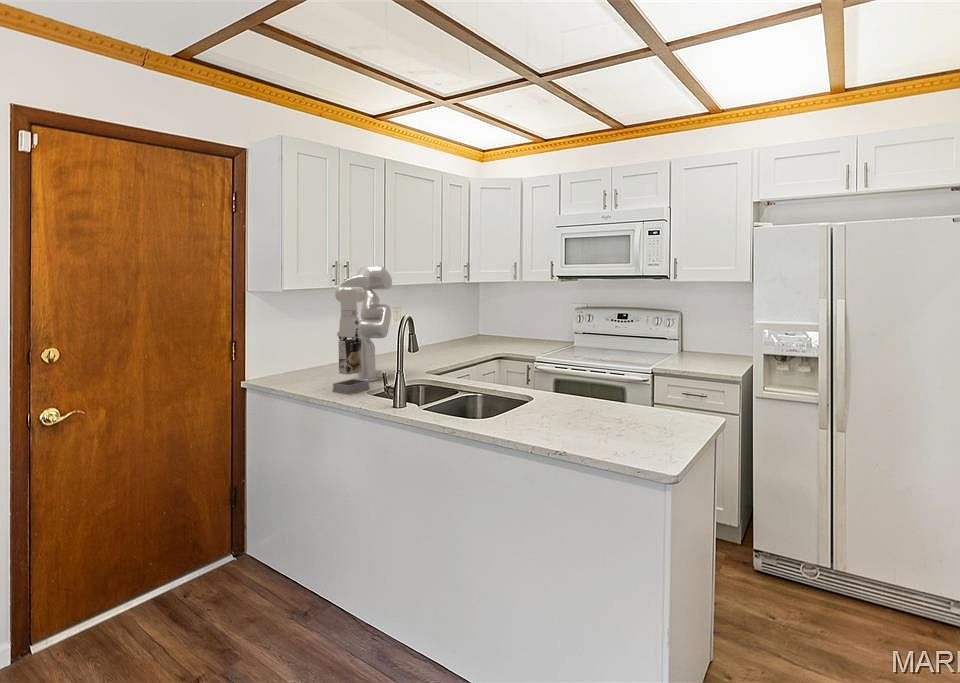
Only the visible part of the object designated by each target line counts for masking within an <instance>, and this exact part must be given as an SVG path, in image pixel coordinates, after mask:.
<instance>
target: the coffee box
mask: <svg viewBox="0 0 960 683" xmlns="http://www.w3.org/2000/svg"><path fill="white" fill-rule="evenodd" d="M355 340H356V339H355ZM353 344H354V343H353V340H352V338H347V340H340V339H338V374H341V375H346V376H348V375H354V374H357V373H360V372H362V362H361V340H360V342H359V343H358V349H359V351H358V352H353Z"/></svg>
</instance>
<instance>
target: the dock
mask: <svg viewBox="0 0 960 683" xmlns="http://www.w3.org/2000/svg"><path fill="white" fill-rule="evenodd" d="M332 388H333V389H332V392H333V393H337V392H338V394H343V393H345V395H352V393H353V394H356V392H357V393H360V392H363V391H368V390H370V388H371V387H370V381H364V380H357V379H354V378H351V379H348V380H346V379H345V380H342V381H339V382H334V383H332Z"/></svg>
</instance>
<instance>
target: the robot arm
mask: <svg viewBox="0 0 960 683" xmlns="http://www.w3.org/2000/svg"><path fill="white" fill-rule="evenodd" d="M392 285H393V279H392V276H391V274H390V272H388V270H387V268H385V267H384V266H381V265H366V266H362V267H360V268H359V270H358V272H357V273H356V274H355V276H353V277H349V278H348V279H345V280H343V281H341V282H340V283H339V284H338V286H337V287H336V290H335V292H334V293H335V294H334V296H335V299H336V301H338V302H339V303H340V318H339V324H338V325H339V328H338V329H339V331H338V332H337V334H336V336H337V337H338V340H347V339H352V340H353V343H354V344H353V352H358V351H359V349H358V343H359V342H360V340H361V362H362V372H360V373H356V374H357V376H355V377H354V378H353V379H357V380H364V381H369V382H375V381H378V380H379V379H380V377H379V376H378V375H380V374H382V370H381V369H379V370H377V369H376V368H377V367H376V346H375V344H374V342H373V340H372V339H385V338H386V337H387V336H388V334H389V329H390V323H391V318H392V310H391V307H390V306H389V305H388V304H387V303H386V304H385V303H380V297H379V296H378V294H377V293H376V292H375V290H389V289H391V287H392ZM358 303H362V306H361V311H360V318H361V320H360V318H359V316H358ZM355 339H356V340H355Z"/></svg>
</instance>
